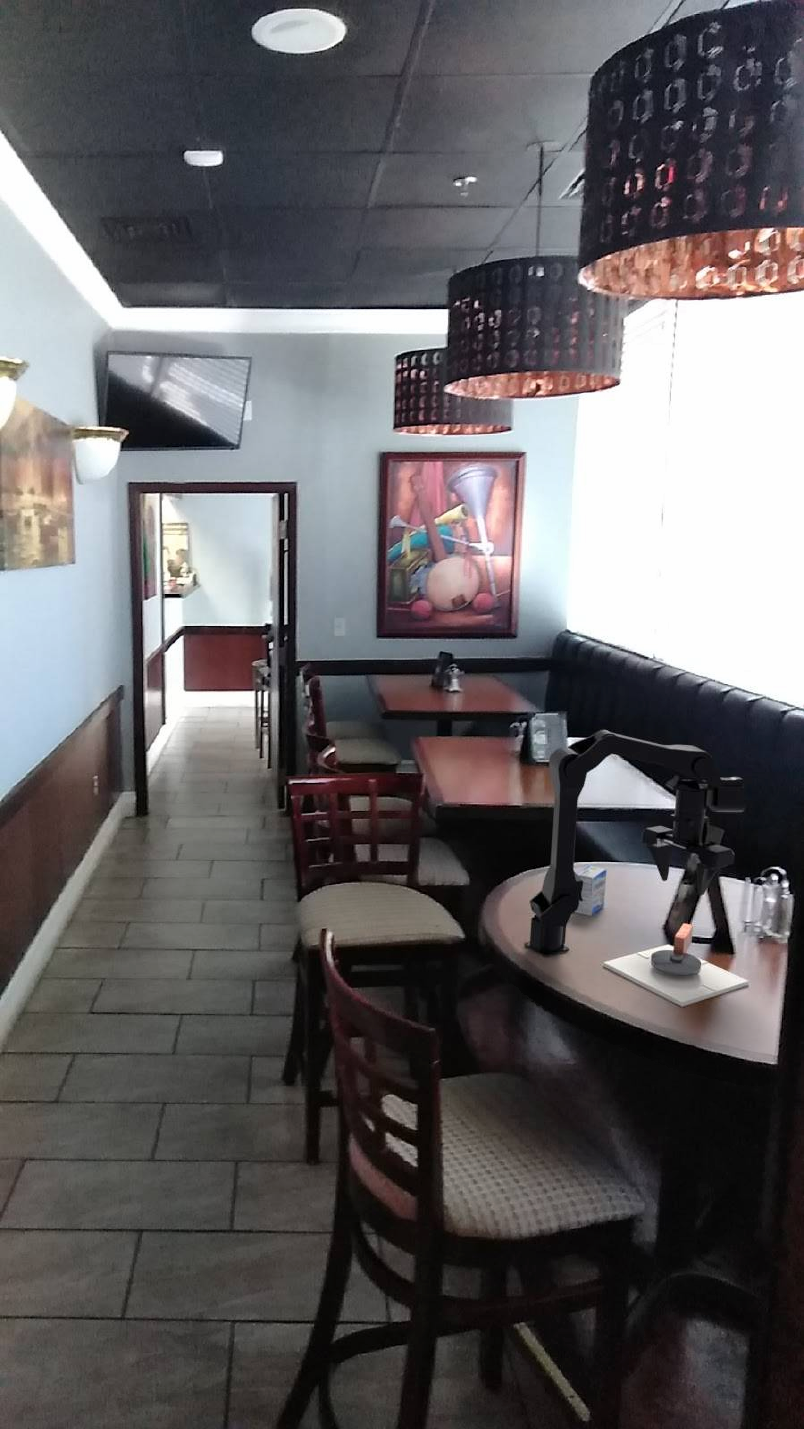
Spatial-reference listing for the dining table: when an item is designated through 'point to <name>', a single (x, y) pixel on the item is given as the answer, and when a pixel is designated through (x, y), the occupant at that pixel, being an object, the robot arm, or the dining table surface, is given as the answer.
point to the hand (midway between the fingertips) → (682, 887)
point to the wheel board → (675, 978)
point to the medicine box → (592, 890)
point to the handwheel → (678, 956)
